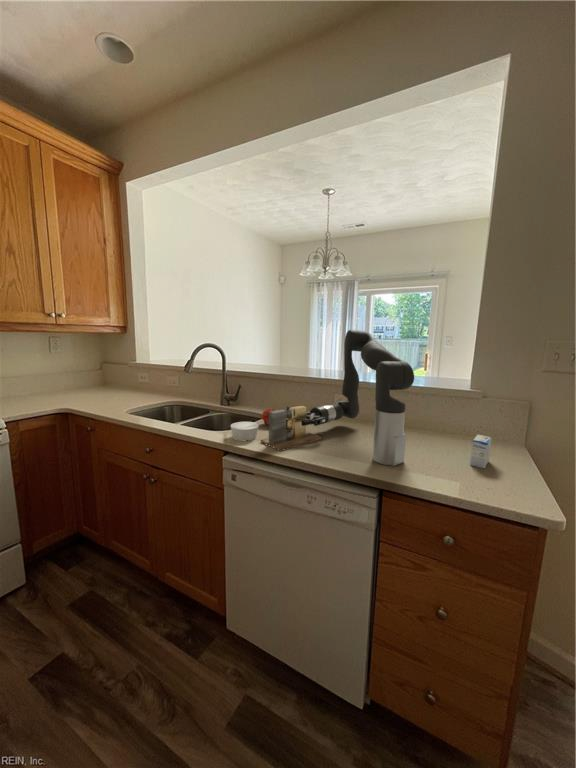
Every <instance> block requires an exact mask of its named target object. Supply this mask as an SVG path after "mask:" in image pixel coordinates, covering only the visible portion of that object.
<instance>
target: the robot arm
mask: <svg viewBox="0 0 576 768" xmlns="http://www.w3.org/2000/svg"><path fill="white" fill-rule="evenodd" d="M343 349H344V351H343V358H344V360H343V363H344V364H343V368H344V369H343V370H344V371H343V382H342V391H341V394H342V396H344V397H345V398H346V399H347V400H338V401H337V402H334V404H328V405H327V404H326V405H320V406H315V407H312V408H311V409H310V411H306V419H305V420H302V424H301V425H302V426H306V427H307V426H309V425H310V426H315V427H317V426H321V425H324V424H328V423H331V422H334V421H338V420H340V419H341V418H343V417H345V418H348V419H355V418H356V417H358V415H359V413H360V403H359V402H360V401H359V395H358V394H359V392H358V391H359V387H360V386H359V385H360V376H359V374H358V373H359V372H358V371H357V369H356V367H355V364H354V362H353V360H354V359H353V352H360V357H361V360H362V362H363V363H364V364H365V365H366V366H367V367H368V368H369V369H371V370H373V371H375V399H374V400H375V414H374V427H373V428H374V430H373V444H372V445H373V446H372V460H373V461H374V462H376V463H378V464H381V465H385V466H392V467H396V466H398V465H400V464H403V463H404V462H405V452H406V437H407V435H406V433H404V428H405V417H406V403H405V402H403V401H402V400H400V399H396V398H394V397H392V396H391V392H390V391H403V390H407V389H409V388H411V387H412V386H413V384H414V381H415V373H414V370H413V368H412V365H410V364H409V362H407V361H405V360H403V359H401V358H400V357H398V356H396V355H394V354H393V352H390V350H388V349H387V348H386V347H385V346H383V345H382V344H381V343H379V342H378V341H377V340H376V339H375V338H374V337H373V334H371V333H370V332H368V331H366V330H365V331H364V330H358V329H349V330H348V331H347V332H346V334H345V336H344V347H343Z"/></svg>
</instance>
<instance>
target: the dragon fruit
mask: <svg viewBox="0 0 576 768" xmlns="http://www.w3.org/2000/svg"><path fill="white" fill-rule="evenodd" d="M275 410H276V409H274V408H271V407H269V408H267V409H265V410H264V411H263V412H262V413H261V414H262V415H261V417H260V420H263V423H264V425H265V426H267V425H269V412H270V411H275Z"/></svg>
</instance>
